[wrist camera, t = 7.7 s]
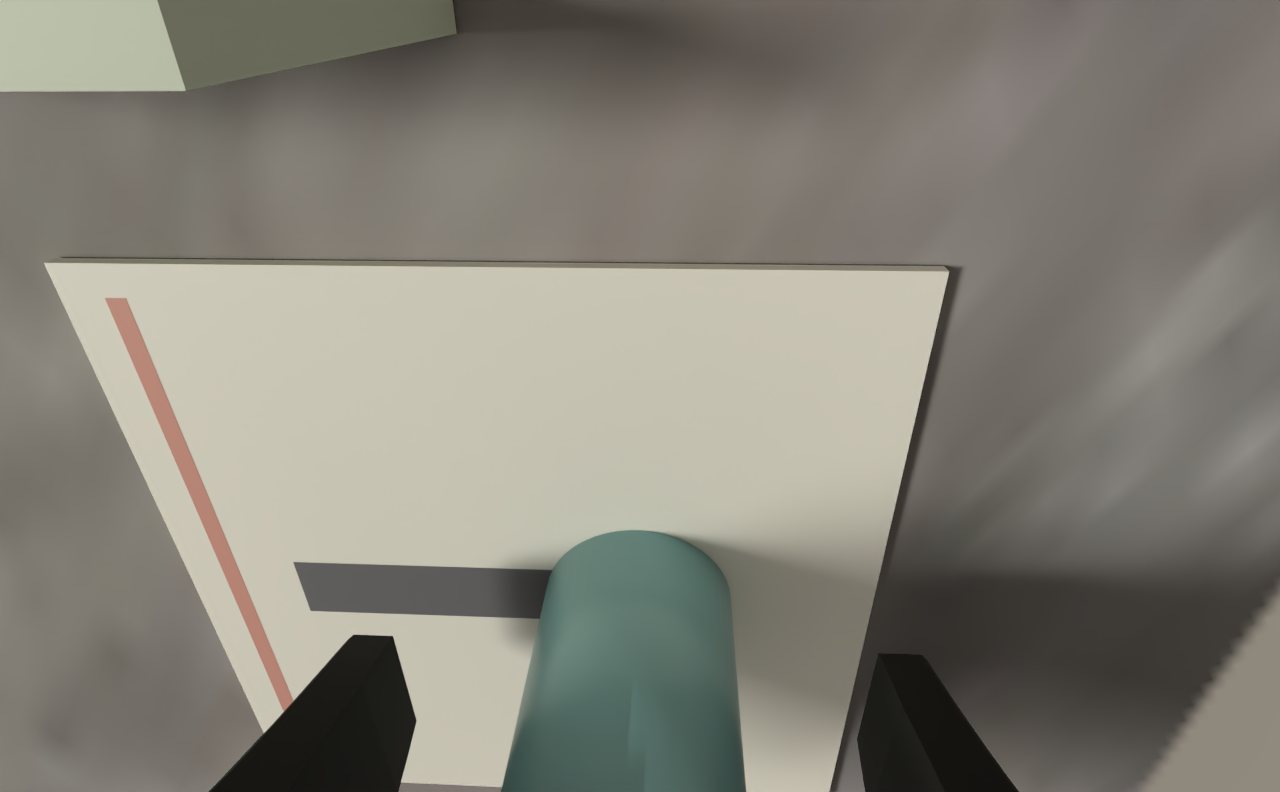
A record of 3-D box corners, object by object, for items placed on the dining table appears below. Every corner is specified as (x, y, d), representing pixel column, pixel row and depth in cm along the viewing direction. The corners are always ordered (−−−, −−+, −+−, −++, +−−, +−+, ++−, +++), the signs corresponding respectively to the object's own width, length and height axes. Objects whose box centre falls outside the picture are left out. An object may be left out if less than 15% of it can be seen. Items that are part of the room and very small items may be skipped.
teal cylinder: (555, 665, 13) (473, 1109, 8) (526, 528, 11) (397, 981, 6) (737, 664, 13) (775, 1123, 8) (735, 523, 11) (783, 992, 6)
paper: (288, 768, 16) (283, 777, 15) (55, 258, 10) (43, 263, 9) (825, 792, 15) (826, 802, 15) (944, 266, 9) (949, 272, 9)
